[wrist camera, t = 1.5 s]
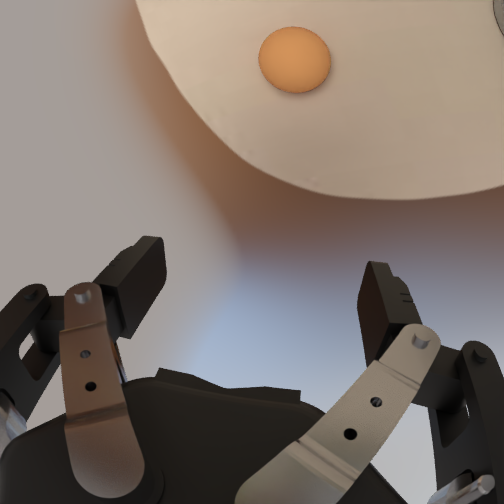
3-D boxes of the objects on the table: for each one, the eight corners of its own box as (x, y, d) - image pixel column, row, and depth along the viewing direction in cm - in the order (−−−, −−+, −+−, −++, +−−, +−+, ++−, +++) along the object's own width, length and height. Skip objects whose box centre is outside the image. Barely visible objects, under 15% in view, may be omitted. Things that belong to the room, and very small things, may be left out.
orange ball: (328, 36, 23) (335, 23, 18) (326, 95, 26) (332, 96, 21) (263, 32, 24) (254, 18, 19) (262, 91, 27) (252, 90, 21)
